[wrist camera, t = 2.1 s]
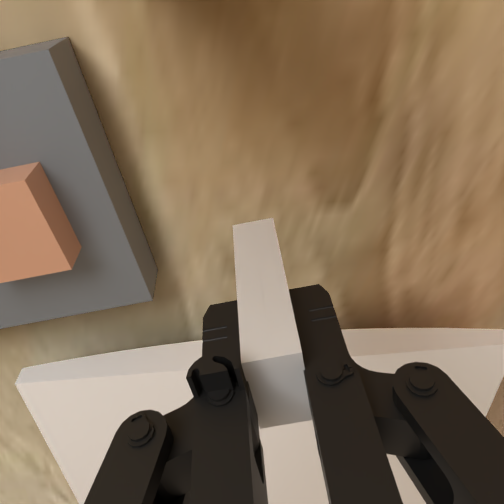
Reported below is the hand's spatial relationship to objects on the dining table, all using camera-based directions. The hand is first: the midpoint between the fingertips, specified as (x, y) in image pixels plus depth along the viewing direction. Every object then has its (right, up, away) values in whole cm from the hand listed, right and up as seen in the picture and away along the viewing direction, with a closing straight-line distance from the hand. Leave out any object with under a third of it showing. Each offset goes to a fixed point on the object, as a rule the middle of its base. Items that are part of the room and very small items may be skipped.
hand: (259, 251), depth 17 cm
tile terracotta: (-12, +2, +6) cm, 14 cm away
